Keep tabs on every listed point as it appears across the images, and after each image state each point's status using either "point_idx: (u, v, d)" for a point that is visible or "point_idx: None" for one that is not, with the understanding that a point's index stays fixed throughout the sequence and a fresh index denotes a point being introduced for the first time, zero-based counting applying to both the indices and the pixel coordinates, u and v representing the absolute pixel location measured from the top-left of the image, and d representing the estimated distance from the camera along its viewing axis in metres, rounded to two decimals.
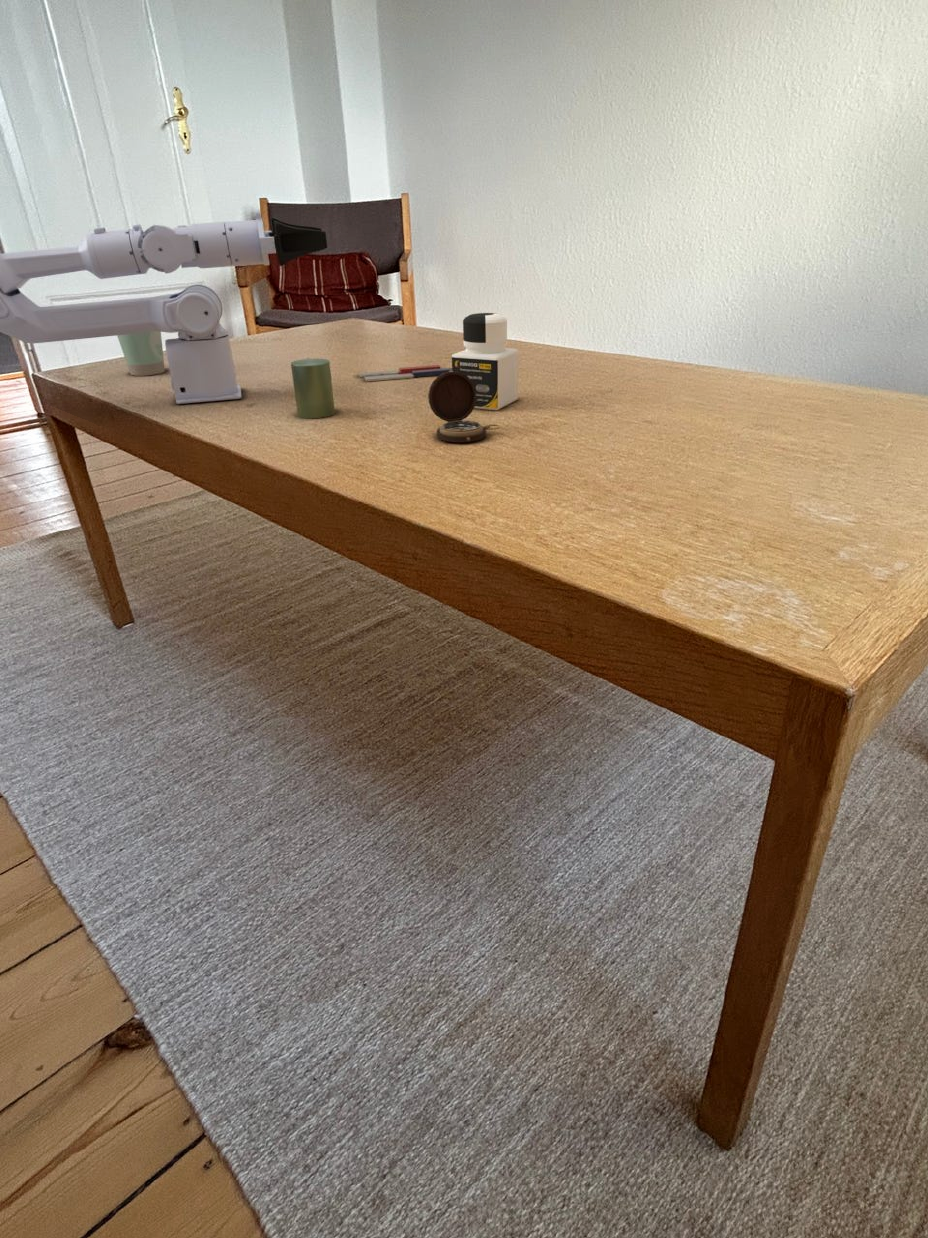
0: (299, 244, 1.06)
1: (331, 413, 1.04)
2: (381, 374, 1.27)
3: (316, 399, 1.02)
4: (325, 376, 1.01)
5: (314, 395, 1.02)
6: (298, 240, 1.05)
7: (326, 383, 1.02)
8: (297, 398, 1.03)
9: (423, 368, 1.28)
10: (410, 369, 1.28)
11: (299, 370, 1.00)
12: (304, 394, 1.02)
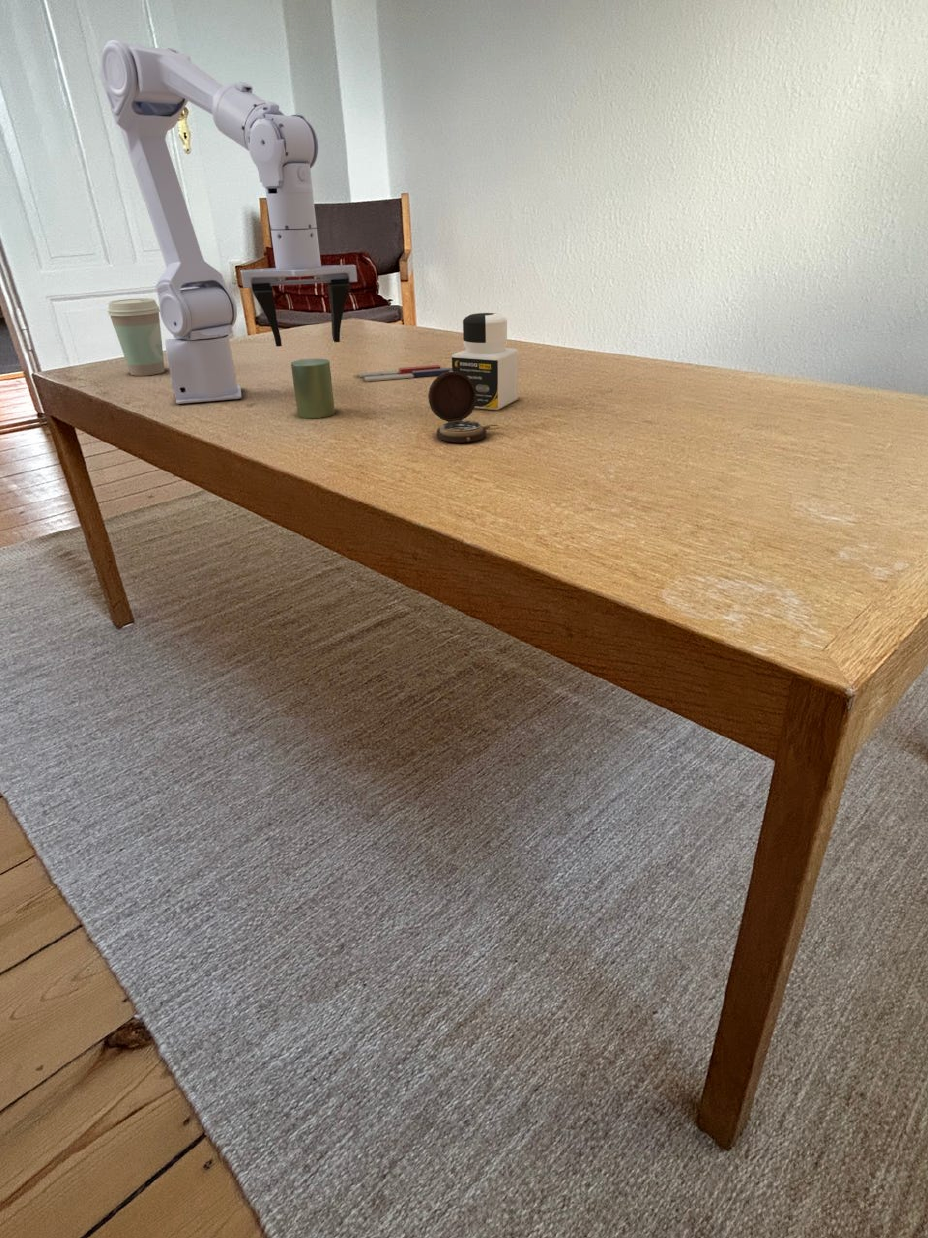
0: None
1: (331, 413, 1.04)
2: (381, 374, 1.27)
3: (316, 399, 1.02)
4: (325, 376, 1.01)
5: (314, 395, 1.02)
6: None
7: (326, 383, 1.02)
8: (297, 398, 1.03)
9: (423, 368, 1.28)
10: (410, 369, 1.28)
11: (299, 370, 1.00)
12: (304, 394, 1.02)
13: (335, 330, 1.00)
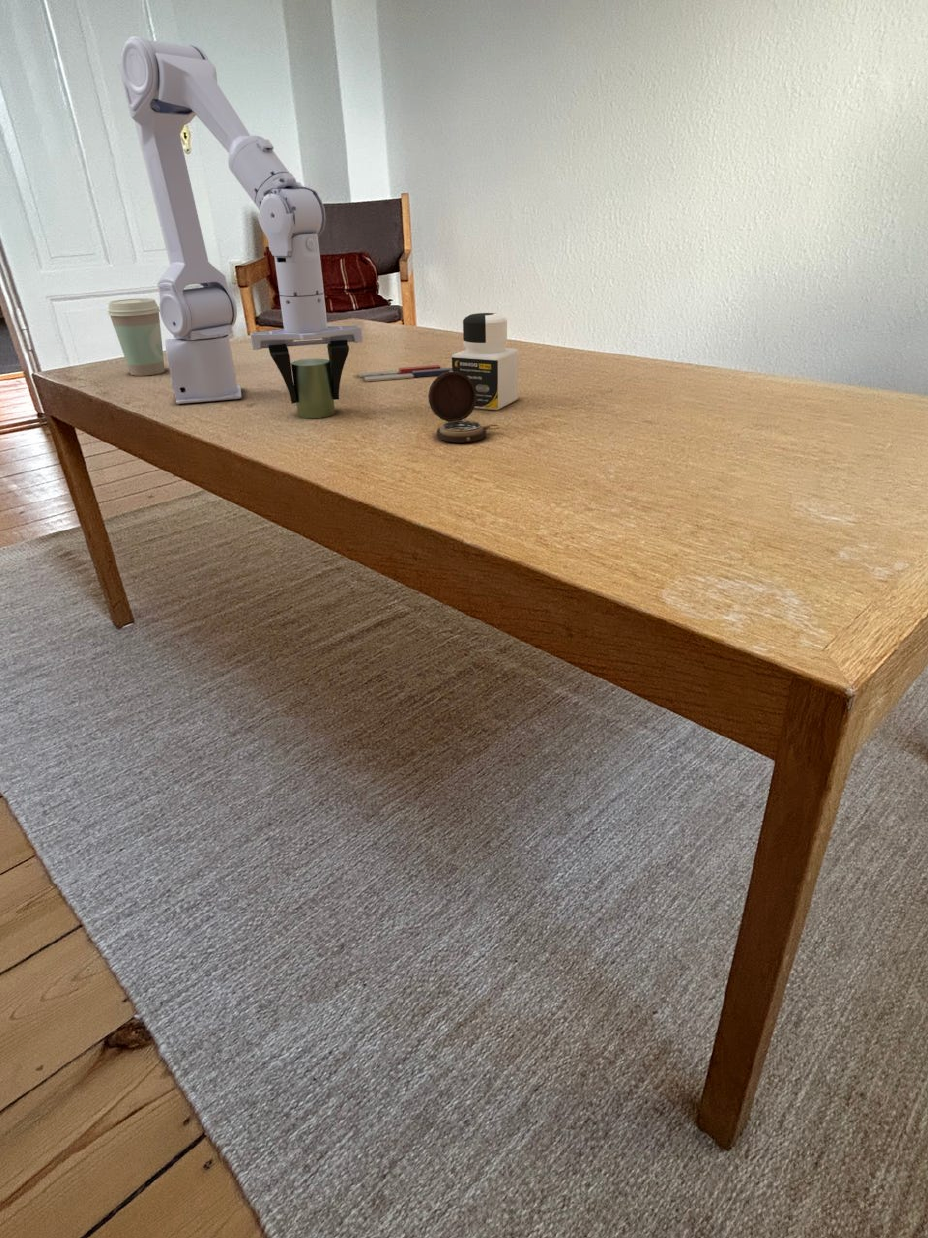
0: None
1: (331, 413, 1.04)
2: (381, 374, 1.27)
3: (316, 399, 1.02)
4: (326, 376, 1.02)
5: (314, 395, 1.02)
6: None
7: (326, 383, 1.02)
8: (297, 398, 1.03)
9: (423, 368, 1.28)
10: (410, 369, 1.28)
11: (299, 370, 1.00)
12: (304, 394, 1.02)
13: (334, 388, 1.03)
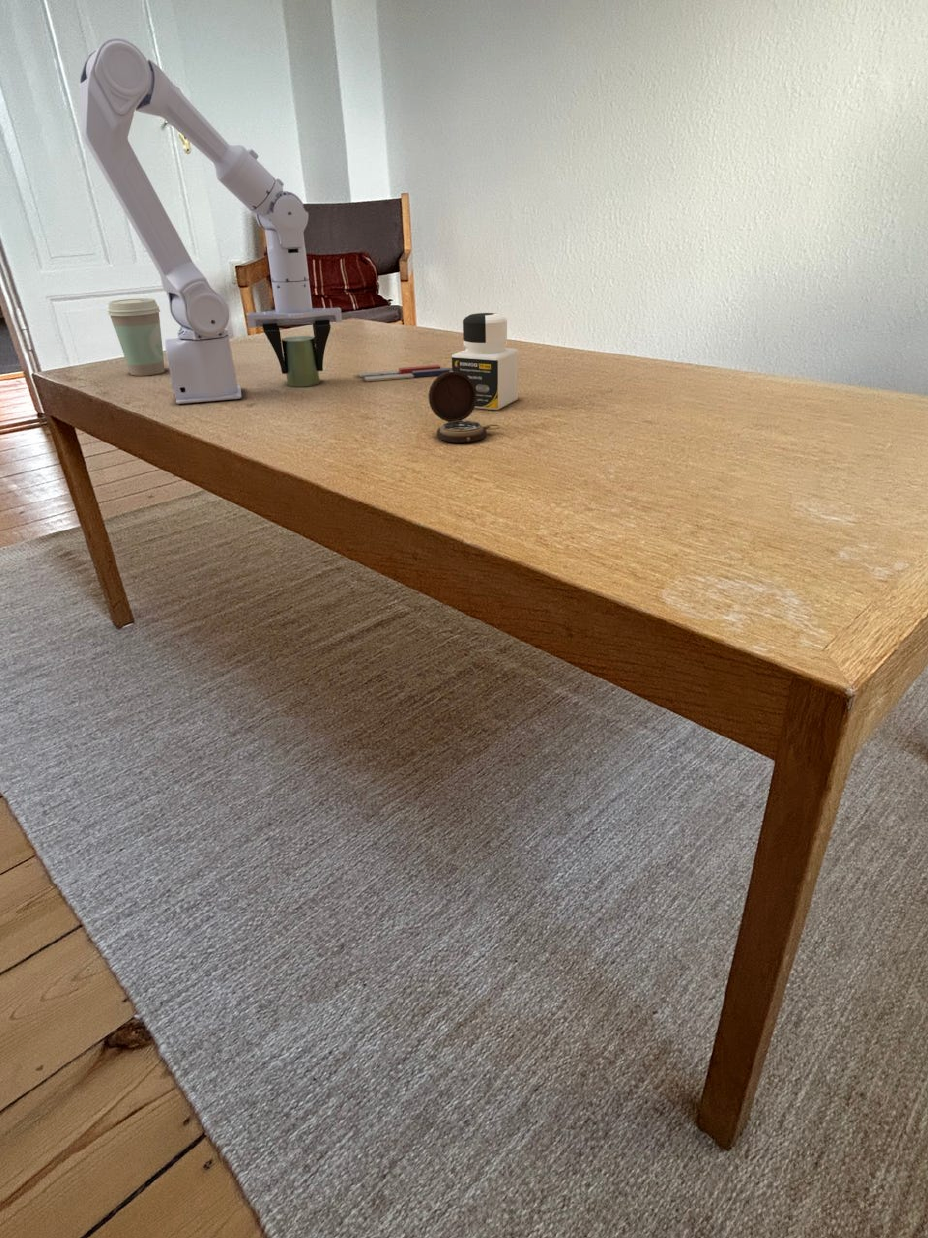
0: None
1: (316, 382, 1.22)
2: (381, 374, 1.27)
3: (303, 370, 1.20)
4: (311, 350, 1.20)
5: (301, 366, 1.20)
6: None
7: (311, 356, 1.20)
8: (287, 369, 1.21)
9: (423, 368, 1.28)
10: (410, 369, 1.28)
11: (288, 345, 1.18)
12: (292, 366, 1.20)
13: (318, 361, 1.21)
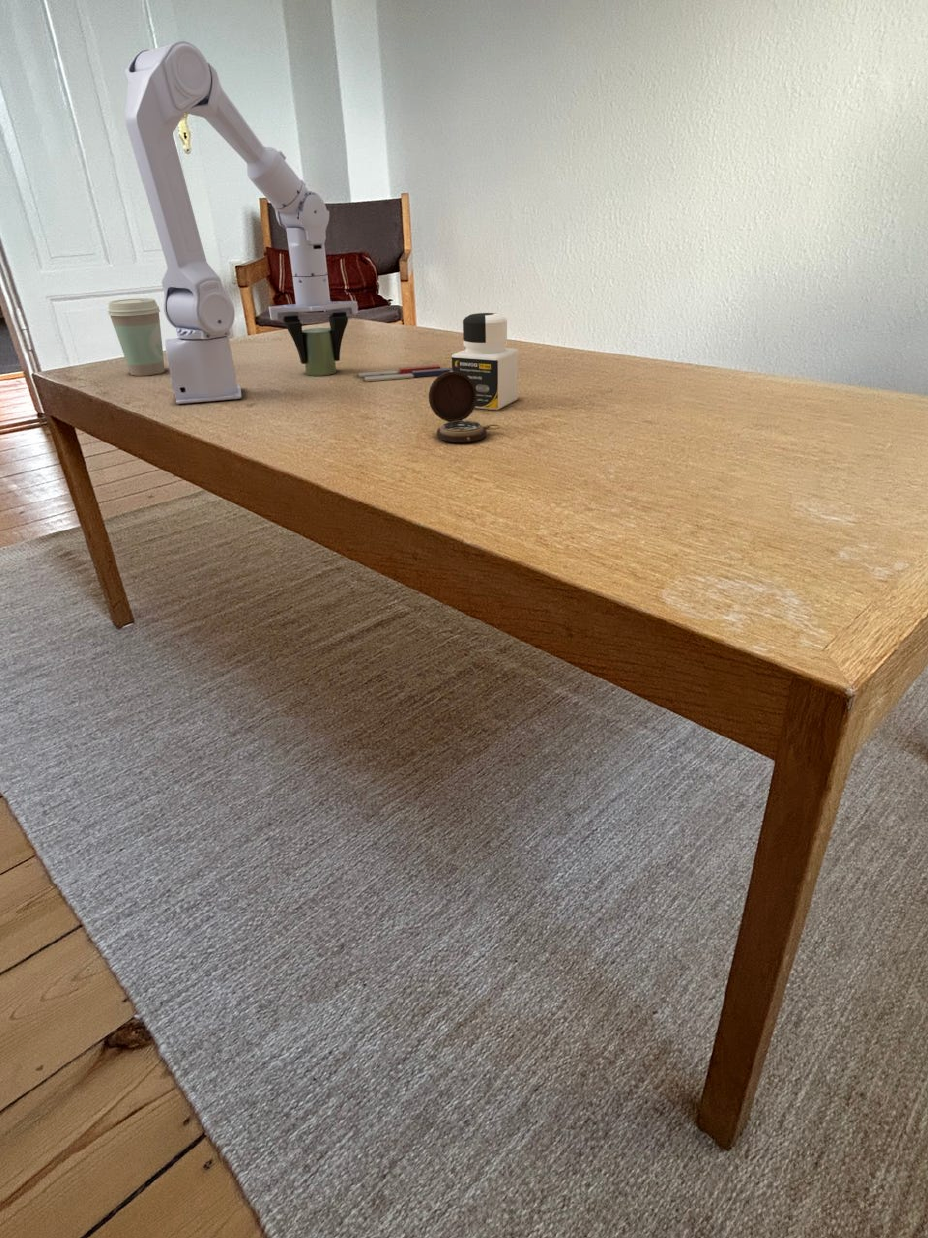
0: None
1: (334, 371, 1.30)
2: (381, 374, 1.27)
3: (322, 359, 1.27)
4: (329, 341, 1.27)
5: (321, 356, 1.27)
6: None
7: (330, 347, 1.27)
8: (306, 359, 1.28)
9: (423, 368, 1.28)
10: (410, 369, 1.28)
11: (308, 336, 1.25)
12: (312, 356, 1.27)
13: (336, 351, 1.29)
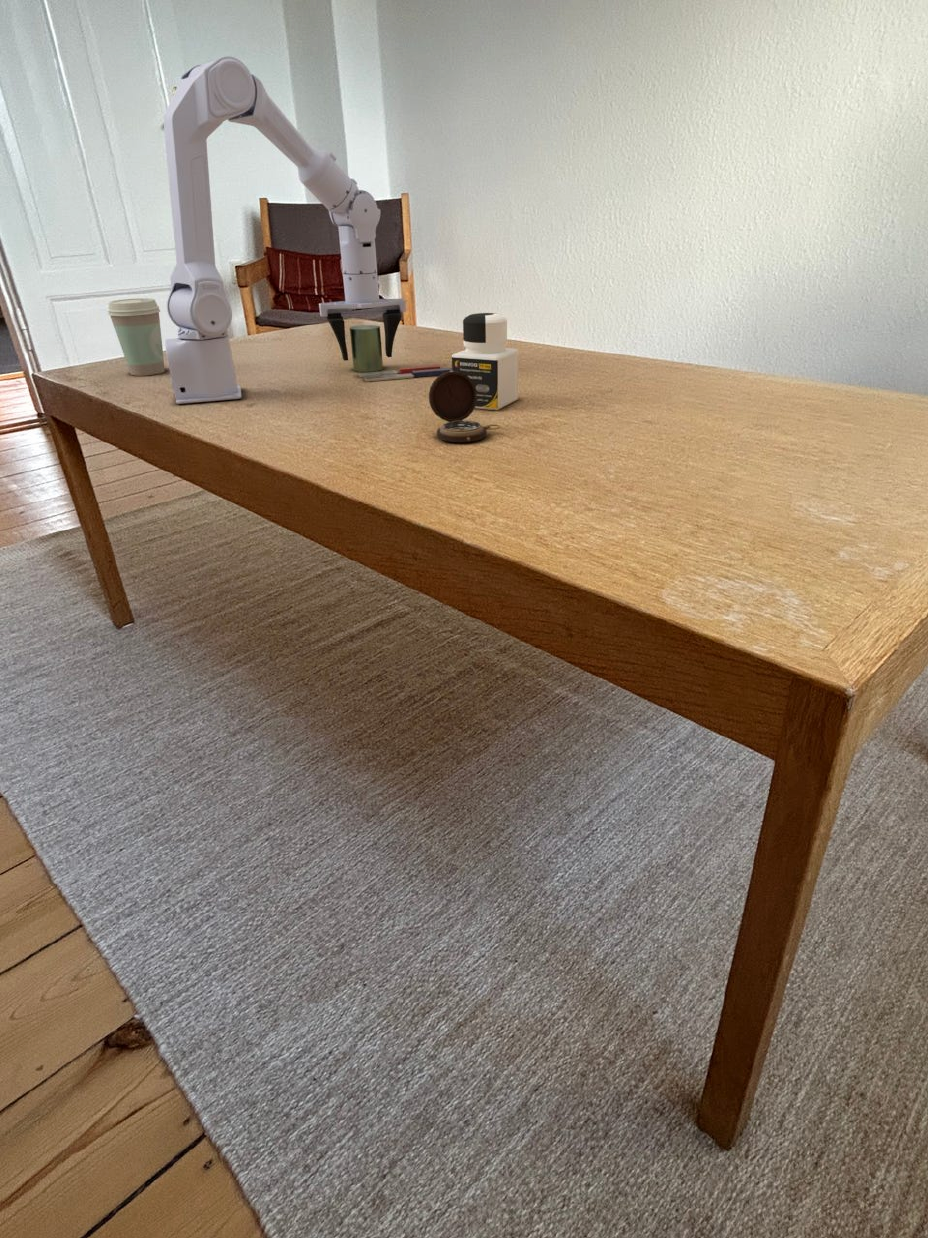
0: None
1: (380, 368, 1.31)
2: (381, 374, 1.27)
3: (369, 356, 1.29)
4: (377, 338, 1.29)
5: (368, 353, 1.29)
6: None
7: (377, 344, 1.29)
8: (354, 356, 1.30)
9: (423, 368, 1.28)
10: (410, 369, 1.28)
11: (357, 333, 1.27)
12: (360, 352, 1.29)
13: (388, 348, 1.30)
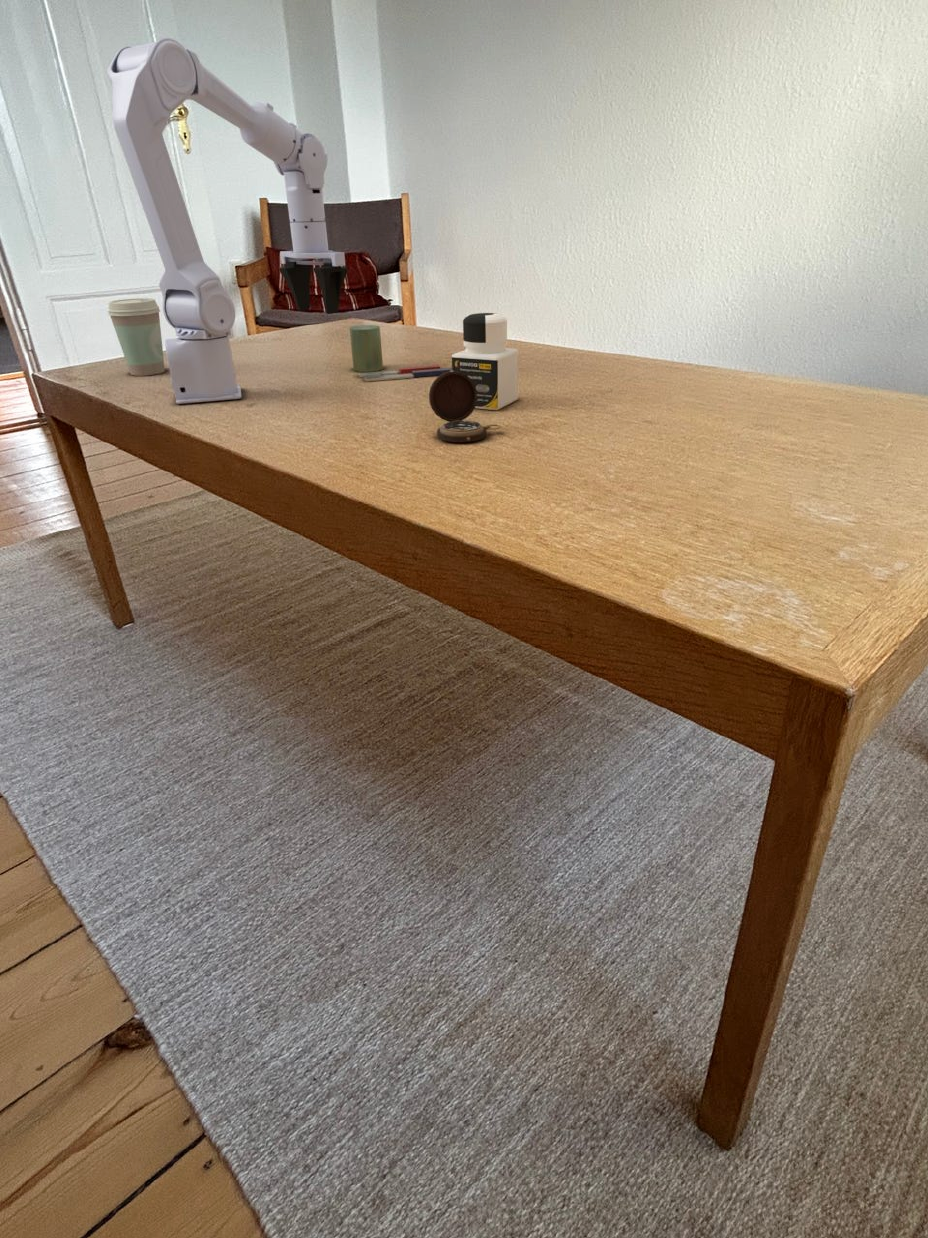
0: (330, 288, 1.24)
1: (380, 368, 1.31)
2: (381, 374, 1.27)
3: (369, 356, 1.29)
4: (377, 338, 1.29)
5: (368, 353, 1.29)
6: (332, 287, 1.24)
7: (377, 344, 1.29)
8: (354, 356, 1.30)
9: (423, 368, 1.28)
10: (410, 369, 1.28)
11: (357, 333, 1.27)
12: (360, 352, 1.29)
13: (309, 299, 1.31)
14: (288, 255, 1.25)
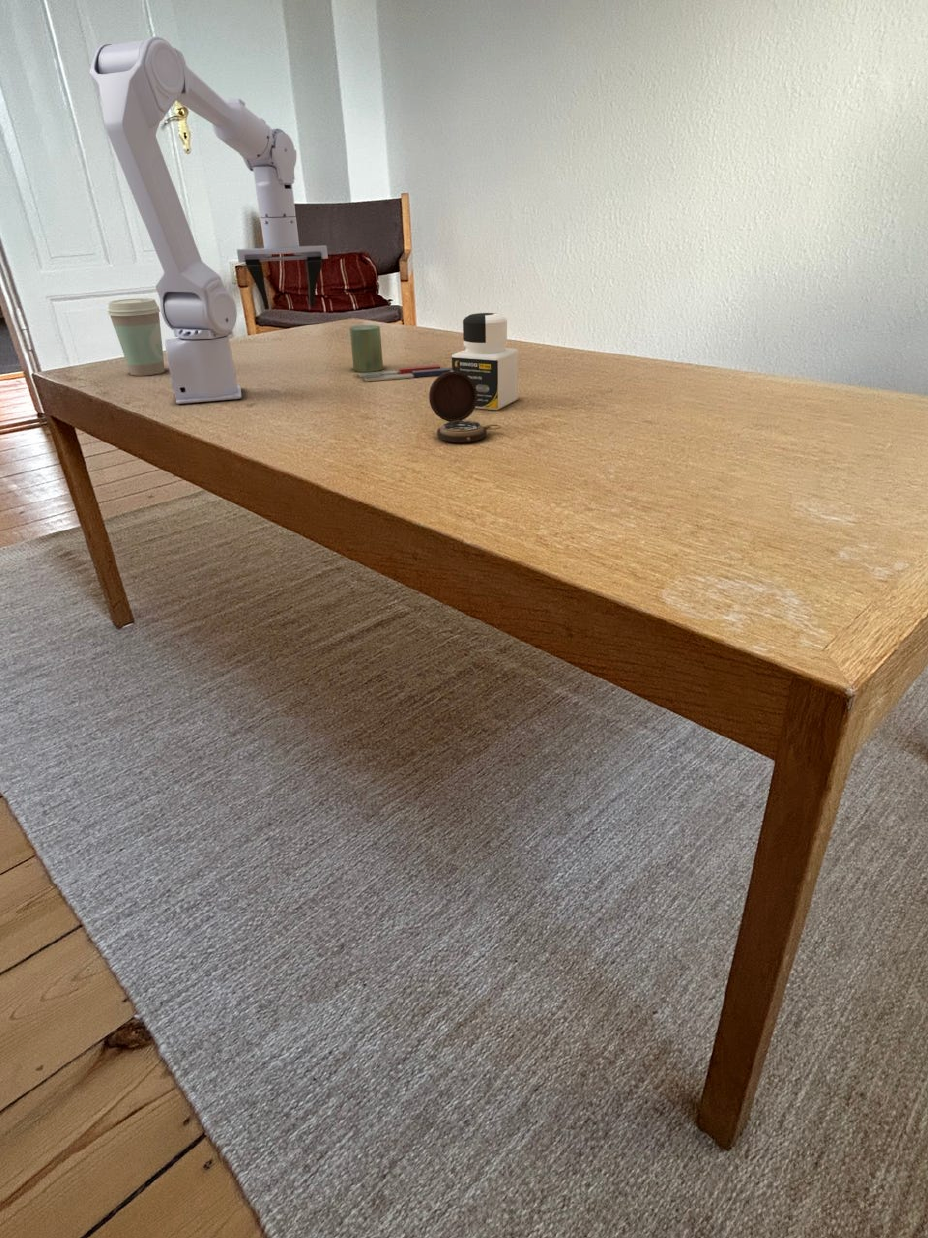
0: None
1: (380, 368, 1.31)
2: (381, 374, 1.27)
3: (369, 356, 1.29)
4: (377, 338, 1.29)
5: (368, 353, 1.29)
6: None
7: (377, 344, 1.29)
8: (354, 356, 1.30)
9: (423, 368, 1.28)
10: (410, 369, 1.28)
11: (357, 333, 1.27)
12: (360, 352, 1.29)
13: None
14: (259, 252, 1.21)
